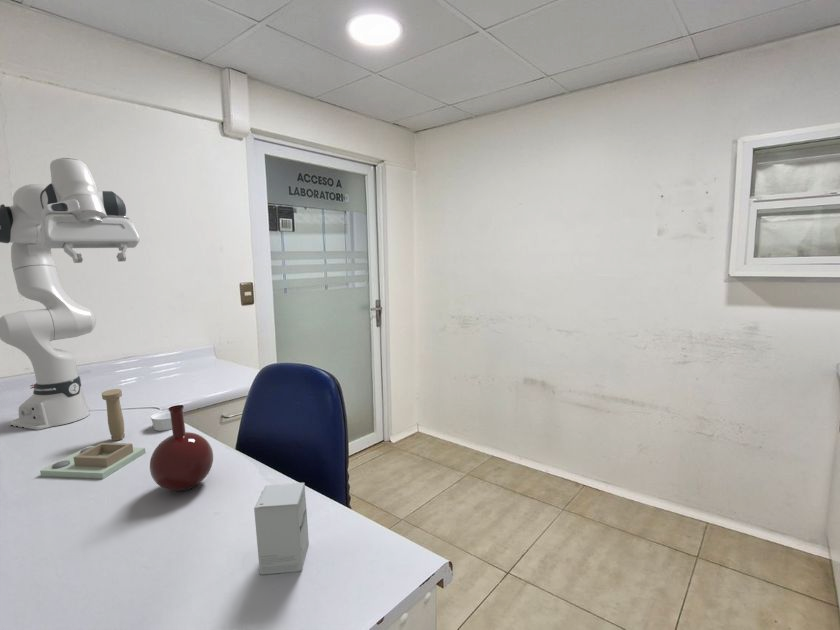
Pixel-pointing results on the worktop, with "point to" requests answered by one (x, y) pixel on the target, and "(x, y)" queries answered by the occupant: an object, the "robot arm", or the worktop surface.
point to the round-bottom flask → (181, 457)
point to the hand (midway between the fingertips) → (101, 261)
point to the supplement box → (281, 528)
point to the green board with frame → (94, 461)
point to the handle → (114, 413)
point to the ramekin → (162, 420)
